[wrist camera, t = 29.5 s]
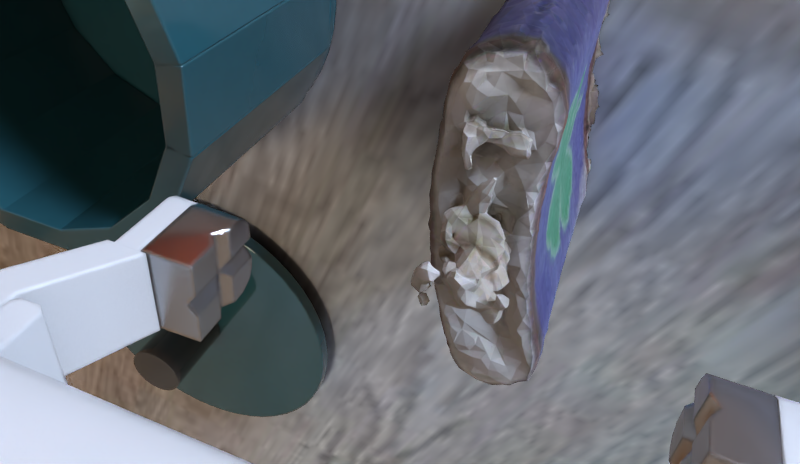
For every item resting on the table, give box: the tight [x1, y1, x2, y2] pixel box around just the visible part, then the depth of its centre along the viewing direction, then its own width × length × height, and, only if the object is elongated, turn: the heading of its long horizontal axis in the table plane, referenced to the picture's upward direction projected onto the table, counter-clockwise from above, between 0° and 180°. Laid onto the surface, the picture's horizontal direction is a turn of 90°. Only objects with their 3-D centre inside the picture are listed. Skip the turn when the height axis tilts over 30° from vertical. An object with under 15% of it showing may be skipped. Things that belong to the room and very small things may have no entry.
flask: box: [411, 0, 610, 385], centre depth 17 cm, size 9×3×11 cm, turn 3°
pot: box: [0, 0, 336, 250], centre depth 21 cm, size 13×13×8 cm
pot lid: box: [127, 237, 328, 417], centre depth 33 cm, size 14×14×5 cm
